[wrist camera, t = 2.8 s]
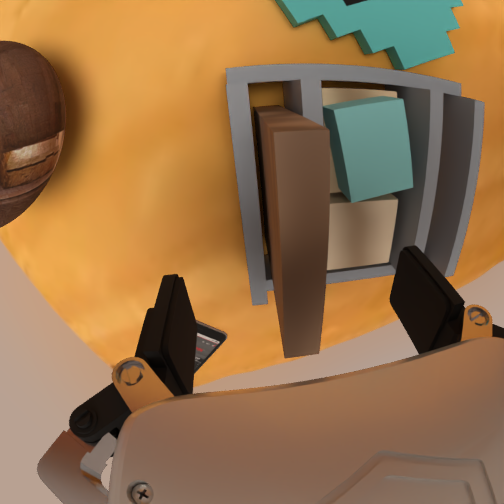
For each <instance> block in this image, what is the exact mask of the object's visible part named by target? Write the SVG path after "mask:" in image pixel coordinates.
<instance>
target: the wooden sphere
mask: <svg viewBox="0 0 504 504" xmlns="http://www.w3.org/2000/svg"><path fill="white" fill-rule="evenodd" d="M65 128H66V106H65V98H64V94H63V90H62V86H61V83H60V81H59V78H58V76H57V74H56V72H55V71H54V69H53V67H52V66H51V65H50V63H49V62H48V61H47V60H46V59H45V58H44V57H43V56H42V55H41V54H40V53H38V52H37V51H36V50H34V49H32V48H31V47H29V46H26V45H24V44H21V43H17V42H12V41H0V228H1V227H3V226H4V225H6V224H8V223H10V222H11V221H13V220H14V219H16V218H17V217H18V216H19V215H21V214H22V213H23V212H24V211H25V210H26V209H27V208H28V207H29V206H30V205H31V204H32V203H33V202H34V201H35V200H36V198H37V197H38V196H39V195H40V193H41V192H42V190H43V189H44V187H45V186H46V184H47V182H48V181H49V179H50V177H51V175H52V173H53V171H54V169H55V167H56V164H57V162H58V159H59V156H60V153H61V149H62V145H63V141H64V135H65Z"/></svg>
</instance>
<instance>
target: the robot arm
mask: <svg viewBox="0 0 504 504" xmlns="http://www.w3.org/2000/svg"><path fill="white" fill-rule="evenodd" d="M464 303H465V301H464V300H463V299H462V298H461V297H460V295H459V294H458V293H457V291H456V290H455V289H454V288H453V287H452V285H451V284H450V283H449V282H448V281H447V279H446V278H445V277H444V276H443V275H442V273H441V272H440V271H439V270H438V269H437V268H436V267H435V265H434V264H433V263H432V262H431V261H430V260H429V259H428V258H427V256H426V255H425V254H424V253H423V252H422V251H421V250H420V249H419V248H418V247H417V246H416V245H413V246H406V247H404V248H403V250H401V251H400V254H399V258H398V263H397V268H396V273H395V277H394V281H393V286H392V290H391V294H390V304H391V306H392V307H393V309H394V311H395V312H396V314H397V316H398V317H399V319H400V321H401V323H402V324H403V326H404V328H405V330H406V331H407V333H408V335H409V337H410V338H411V340H412V342H413V344H414V346H415V348H416V349H417V351H418V353H419V355H416V356H413V357H409V358H406V359H402V360H399V361H395V362H391V363H387V364H383V365H379V366H375V367H371V368H367V369H363V370H359V371H354V372H350V373H345V374H340V375H335V376H330V377H325V378H319V379H314V380H308V381H303V382H296V383H289V384H282V385H274V386H266V387H258V388H249V389H239V390H229V391H219V392H206V393H196V394H193V380H194V367H195V354H196V343H197V332H198V329H197V323H196V319H195V316H194V313H193V310H192V306H191V303H190V300H189V296H188V293H187V290H186V286H185V283H184V279H183V277H179V276H178V275H177V274H172V275H164V276H163V278H162V282H161V285H160V289H159V292H158V296H157V299H156V303H155V306H154V308H149V309H148V310H147V313H146V316H145V320H144V323H143V327H142V331H141V334H140V338H139V342H138V345H137V349H136V353H135V357H130V358H126V359H124V360H122V361H120V362H119V363H118V364H117V365H116V366H115V368H114V369H113V372H112V381H113V383H111V384H110V385H108V386H107V387H106V388H104V389H103V390H102V391H100V392H99V393H97V394H96V395H94V396H93V397H92V398H90V399H89V400H87V401H86V402H84V403H83V404H82V405H80V406H79V407H77V408H76V409H75V410H74V411H73V412H72V414H71V416H70V420H69V426H70V428H69V430H68V431H67V432H66V431H63V432H62V433H61V434H60V436H59V437H58V438H57V439H56V441H55V442H54V443H53V444H52V445H51V447H50V448H49V449H48V451H47V452H46V453H45V454H44V455H43V457H42V458H41V459H40V461H39V463H38V467H37V472H38V475H39V477H40V479H41V480H42V481H43V482H44V483H45V485H46V486H47V487H48V488H49V489H50V490H51V491H52V492H53V493H54V494H55V495H56V497H58V498H59V500H60V501H61V502H62V503H63V504H504V328H502V327H499V326H497V325H494V324H492V317H491V315H490V313H489V312H488V311H487V310H486V309H485V308H484V307H482V306H479V305H469V306H467V307H466V308H465V307H464V306H463V305H464ZM109 457H113V461H112V468H111V475H110V483H109V491H108V490H107V489H106V488H105V487H104V486H103V485H102V482H101V474H102V472H103V470H104V468H105V467H106V466H107V464H106V461H107V460H108V459H109ZM148 484H149V485H148Z"/></svg>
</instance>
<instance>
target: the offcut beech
mask: <svg viewBox="0 0 504 504" xmlns="http://www.w3.org/2000/svg"><path fill="white" fill-rule="evenodd" d="M397 206H398V199H397V198H396V197H395V196H394V195H392V194H391V193H389V194H385V195H381V196H377V197H373V198H369V199H366V200H362V201H358V202H354V203H351V202H350V201H349V200H348V198H347V197H346V196H345V195H344V194H343V193H342V192H336V193H330V217H329V242H328V261H327V270H332V269H341V268H349V267H357V266H364V265H372V264H380V263H387V262H389V257H390V251H391V246H392V240H393V234H394V227H395V221H396V214H397Z"/></svg>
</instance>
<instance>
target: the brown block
mask: <svg viewBox="0 0 504 504" xmlns="http://www.w3.org/2000/svg"><path fill="white" fill-rule="evenodd" d="M253 109H254V120H255V130H256V140H257V151H258V162H259V173H260V184H261V195H262V207H263V219H264V231H265V240H266V246H267V252H268V257H269V263H270V270H271V276H272V282H273V288H274V294H275V300H276V306H277V313H278V319H279V325H280V332H281V338H282V344H283V351H284V357H285V358H291V357H299V356H306V355H313V354H319V350H320V342H321V333H322V323H323V313H324V302H325V290H326V276H327V261H328V242H329V217H330V130H329V129H327V128H325V127H323V126H321V125H319V124H317V123H315V122H313V121H311V120H309V119H307V118H305V117H303V116H301V115H299V114H297V113H294V112H292V111H290V110H288V109H286V108H283V107H281V106H279V105H274V106H260V107H253Z"/></svg>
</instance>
